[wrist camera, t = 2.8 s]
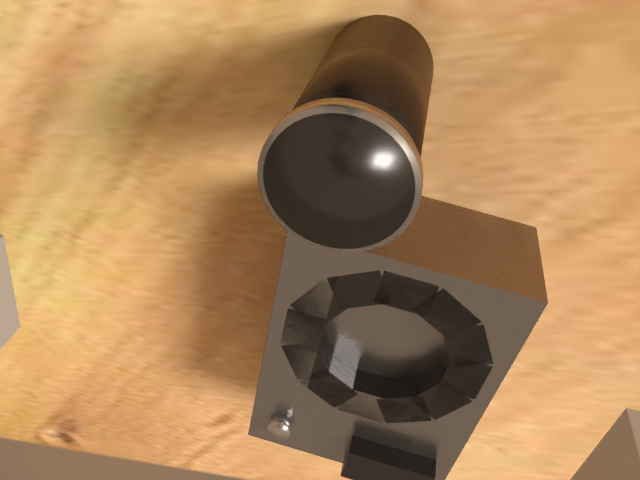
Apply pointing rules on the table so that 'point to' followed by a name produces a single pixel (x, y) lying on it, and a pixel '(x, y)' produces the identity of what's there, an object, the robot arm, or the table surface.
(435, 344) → the grey block with hole
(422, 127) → the lens
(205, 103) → the table surface
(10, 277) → the robot arm
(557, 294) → the table surface
